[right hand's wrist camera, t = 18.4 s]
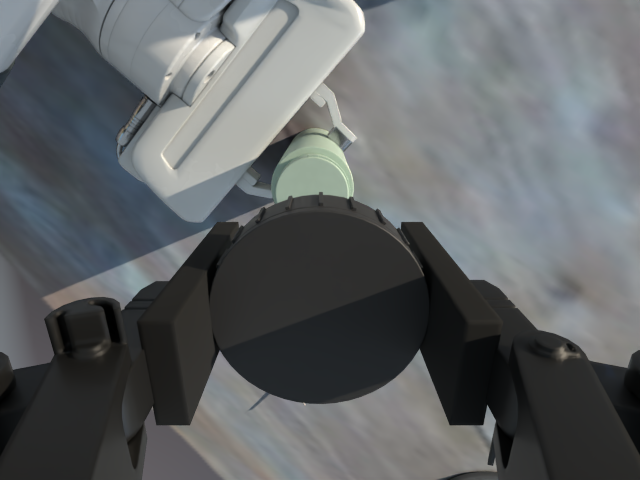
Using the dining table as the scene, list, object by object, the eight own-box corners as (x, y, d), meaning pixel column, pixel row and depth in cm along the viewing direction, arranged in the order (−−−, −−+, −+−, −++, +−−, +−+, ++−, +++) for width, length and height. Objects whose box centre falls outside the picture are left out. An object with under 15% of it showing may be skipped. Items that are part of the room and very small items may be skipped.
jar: (340, 183, 37) (352, 237, 23) (287, 181, 37) (268, 234, 23) (343, 128, 35) (358, 151, 21) (288, 126, 35) (267, 148, 21)
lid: (354, 150, 10) (360, 159, 9) (450, 315, 12) (469, 347, 11) (180, 258, 12) (157, 284, 10) (291, 395, 13) (287, 435, 12)
